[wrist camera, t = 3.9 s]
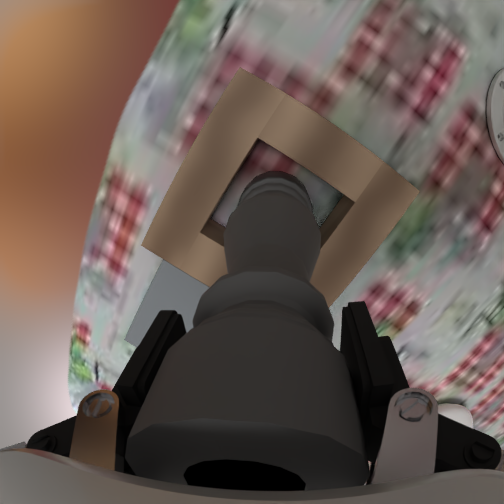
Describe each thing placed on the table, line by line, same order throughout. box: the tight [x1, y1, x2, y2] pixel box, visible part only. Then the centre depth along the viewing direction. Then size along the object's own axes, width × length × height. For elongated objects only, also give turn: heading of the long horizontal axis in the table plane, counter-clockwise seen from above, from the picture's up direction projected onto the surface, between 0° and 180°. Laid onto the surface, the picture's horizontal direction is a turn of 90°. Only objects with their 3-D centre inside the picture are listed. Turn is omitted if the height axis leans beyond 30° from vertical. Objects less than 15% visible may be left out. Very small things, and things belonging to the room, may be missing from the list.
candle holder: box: [125, 171, 370, 491], centre depth 17 cm, size 6×6×25 cm
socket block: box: [141, 68, 420, 307], centre depth 27 cm, size 17×17×4 cm
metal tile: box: [124, 259, 210, 347], centre depth 35 cm, size 13×13×1 cm
